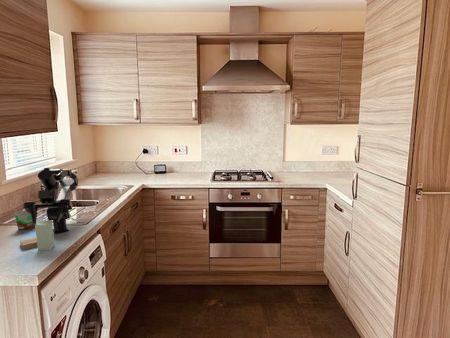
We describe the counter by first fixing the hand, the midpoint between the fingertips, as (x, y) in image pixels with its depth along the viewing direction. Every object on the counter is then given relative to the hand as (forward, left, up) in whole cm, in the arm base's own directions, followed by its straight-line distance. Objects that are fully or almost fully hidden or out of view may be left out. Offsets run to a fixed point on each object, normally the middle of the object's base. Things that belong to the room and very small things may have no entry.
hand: (45, 222), depth 139 cm
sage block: (+2, -1, -10) cm, 11 cm away
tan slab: (-5, -6, -11) cm, 13 cm away
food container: (-33, -3, -10) cm, 35 cm away
